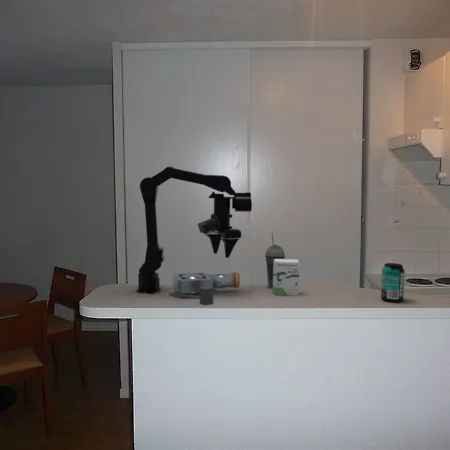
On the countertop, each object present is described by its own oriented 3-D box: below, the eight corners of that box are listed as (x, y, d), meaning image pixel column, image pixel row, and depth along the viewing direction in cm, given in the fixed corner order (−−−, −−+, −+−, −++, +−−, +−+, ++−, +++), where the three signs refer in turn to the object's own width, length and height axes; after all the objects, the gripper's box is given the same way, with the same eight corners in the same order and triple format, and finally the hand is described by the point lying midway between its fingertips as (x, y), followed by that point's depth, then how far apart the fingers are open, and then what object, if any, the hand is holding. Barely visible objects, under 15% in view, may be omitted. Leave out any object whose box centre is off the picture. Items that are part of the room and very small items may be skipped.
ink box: (274, 295, 171) (274, 261, 170) (272, 291, 176) (272, 258, 175) (299, 295, 171) (300, 261, 170) (296, 291, 176) (297, 258, 175)
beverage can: (396, 297, 170) (398, 262, 168) (407, 302, 163) (409, 266, 162) (377, 298, 168) (378, 262, 167) (387, 303, 162) (388, 266, 160)
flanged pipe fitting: (177, 295, 165) (177, 279, 164) (171, 286, 177) (171, 271, 176) (242, 291, 171) (242, 275, 170) (232, 283, 183) (232, 269, 182)
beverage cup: (283, 289, 179) (284, 234, 177) (263, 288, 180) (264, 233, 178) (285, 285, 186) (286, 232, 184) (265, 284, 187) (266, 231, 185)
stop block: (199, 303, 160) (199, 287, 160) (207, 301, 162) (207, 286, 161) (205, 304, 158) (205, 289, 157) (212, 303, 160) (212, 288, 159)
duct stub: (169, 295, 169) (169, 278, 168) (183, 288, 180) (183, 271, 179) (201, 299, 165) (202, 281, 164) (214, 291, 176) (215, 274, 175)
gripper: (190, 209, 179) (189, 253, 181) (212, 214, 162) (212, 261, 164) (217, 209, 184) (217, 251, 186) (242, 213, 168) (241, 259, 169)
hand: (221, 255), depth 176 cm, fingers open, 9 cm apart
